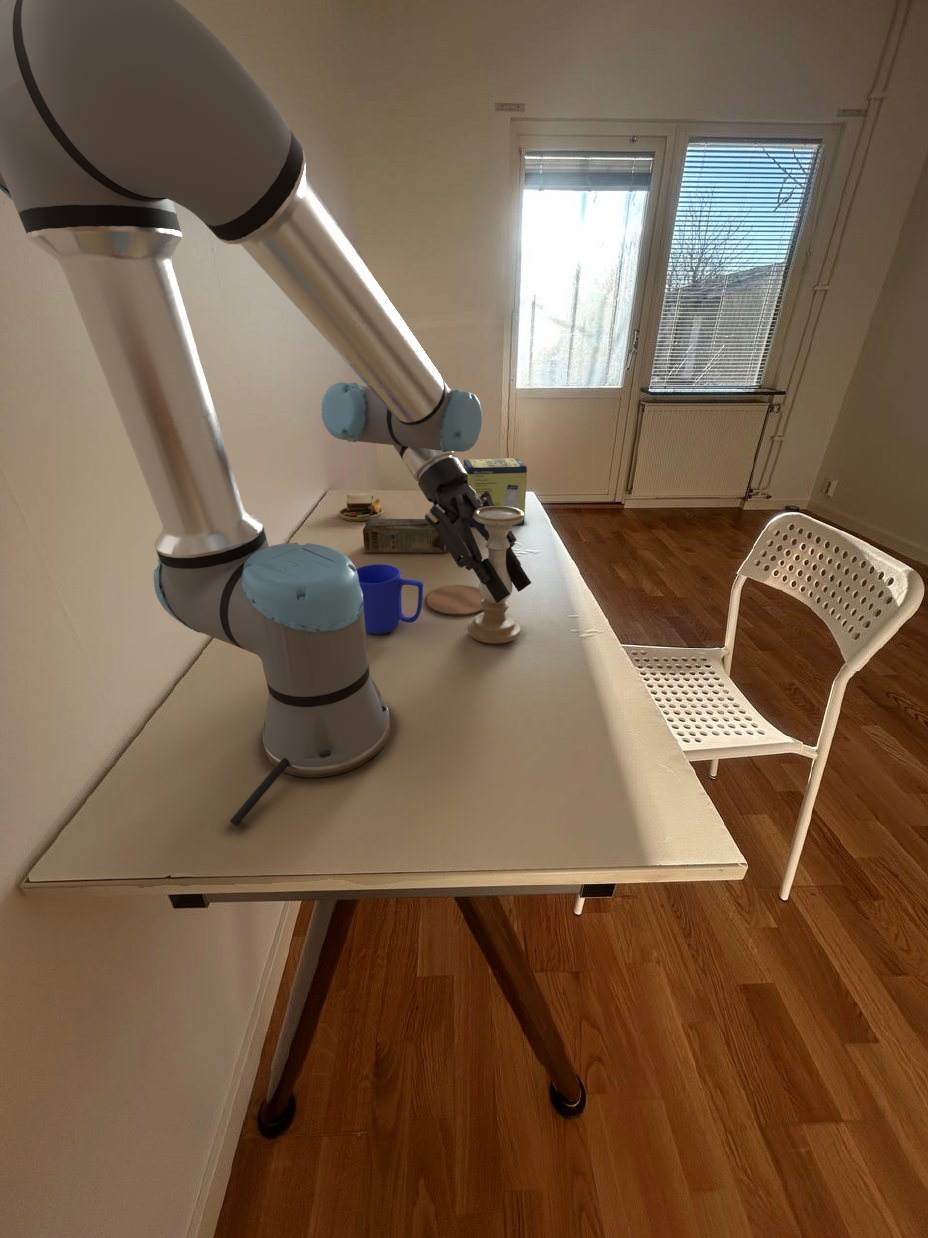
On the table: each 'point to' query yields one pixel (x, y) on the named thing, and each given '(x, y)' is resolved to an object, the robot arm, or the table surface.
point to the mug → (385, 597)
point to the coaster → (455, 600)
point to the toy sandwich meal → (361, 507)
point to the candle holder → (494, 619)
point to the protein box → (499, 481)
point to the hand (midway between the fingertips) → (514, 592)
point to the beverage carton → (401, 536)
